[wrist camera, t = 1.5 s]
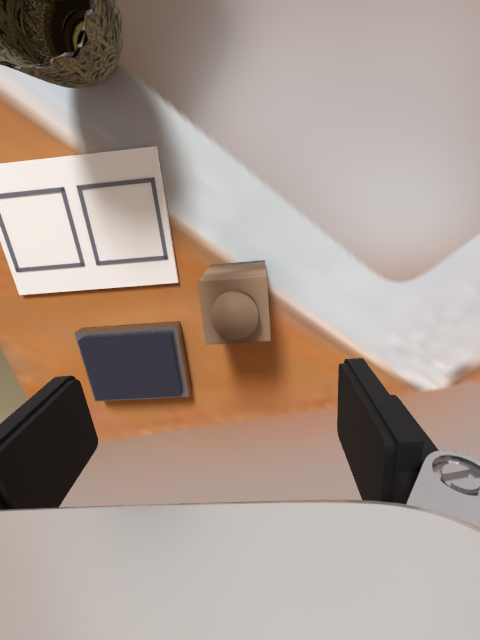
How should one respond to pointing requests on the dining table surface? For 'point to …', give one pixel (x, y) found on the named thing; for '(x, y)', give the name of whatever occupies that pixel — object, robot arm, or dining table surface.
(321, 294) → the dining table surface
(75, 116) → the dining table surface
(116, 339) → the ink pad
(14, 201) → the sheet
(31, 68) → the carved brown lampshade
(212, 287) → the stamp
